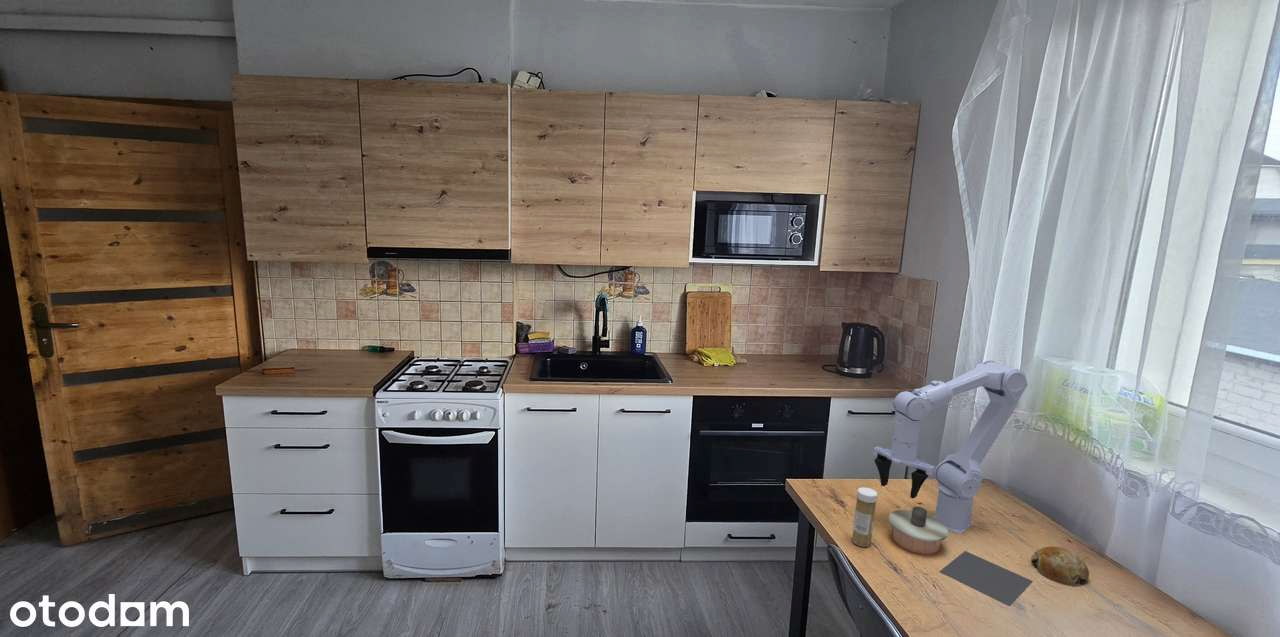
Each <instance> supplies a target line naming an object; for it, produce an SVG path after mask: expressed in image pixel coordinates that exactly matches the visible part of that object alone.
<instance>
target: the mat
mask: <svg viewBox="0 0 1280 637" xmlns="http://www.w3.org/2000/svg"><path fill="white" fill-rule="evenodd" d="M938 572H939V573H940V574H943V575H945V576H946V577H949V578H951V579H953V580H955V581H957V582H959V583H962V584H963V585H965V586H967V587H969V588H970V589H973V590H975V591H977V592H979V593H981V594H982V595H985V596H987V597H990V598H992V599H994V600H995V601H998V602H1000V603H1002V604H1004V605H1007V606H1008V607H1011V606H1012V605H1013V603H1015V601H1016V600H1017V599H1018V598H1019V597H1020V596H1021V595H1022V594H1023V593H1024V592H1025V591H1026V589H1027V588H1028V587H1029V586H1030V585H1031V584H1032V583H1033V582H1034V581H1033V580H1031V579H1030V578H1027V577H1025V576H1023V575H1020V574H1018V573H1015V572H1014V571H1011V570H1008V569H1007V568H1004V567H1002V566H1000V565H997V564H996V563H994V562H991V561H989V560H988V559H987V560H986V559H984V558H982V557H980V556H979V555H976V554H973V553H971V552H969V551H966V550H964V551H963V552H961V553H960V554H959V555H958V556H957V557H955V558H954V559H953V560H952V561H950V562H949V563H948V564H947V565H946V566H944V567H943V568H941V570H939V571H938Z"/></svg>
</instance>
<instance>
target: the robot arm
mask: <svg viewBox="0 0 1280 637" xmlns="http://www.w3.org/2000/svg"><path fill="white" fill-rule="evenodd" d="M1028 385H1029V384H1028V381H1027V377H1026V374H1025V372H1024V371H1022V370H1021V369H1018V368H1013V367H1010V366H1007V365H1005V364H1001V363H998V362H996V361H994V360H985V361H983V362H981V363H977V364H976V365H975V367H974V368H973V369H971V370H969V371H968V372H965V373H963V374H961V375H959V376H957V377H954V378H953V379H951V380H949V381H947V382H943V381H941V380H932V381H930V384H927V385H926V386H923V387H920V388H915V389H913V390H912V391H911V392H910V391H907V390H906V391H902V392H900V393H898V394H897V395H896V396H895V398H894V400H892V403H891V404H892V408H893V410H894V412H895V413H894V417H895V421H894V430H893V434H892V436H893V437H892V444H891V449H889V448H886V447H881V446H875V447H873V453H872V455H873V456H875V459H874V463H875V466H876V468H877V470H878V475H879V480H880V486H881V487H885V486H888V483H889V478H890V471H891V466H892V463H895V464H897V465H903V466H905V467H908V468H911V469H914V471H913V472H911V473H910V475H911V489H910V495H909V497H910V499H915V498H917V497H918V495H919V491H920V490H921V488H922V486H923V484H924V482H925V481H926V480H927V479H928V478H929V476H932V475H933V476H934V479H935V481H936V482H937V487H938V494H937V500H936V506H935V512H934V513H935V514H934V515H933V516H932V517H934V518H936V519H937V520H939V521H940V522H942V523H943V524H944V525H945V526H946V527H947V529H948V531H951V532H953V533H956V534H958V535H960V534H962V533H963V532H964V531H966V530H967V529H968V528H970V527H971V526H974V524H975V522H974V521H972V520H971V519H972V513H973V507H974V501H975V500H974V497H975V496H976V495H977V494H978V493H979V490H980V487H981V483H982V481H983V479H984V478H985V476H984V473H983V471H982V467H981V463H982V462H983V460H984V459H985V458H986V455H987V454H988V453H989V451H990V449H992V448H991V447H992V446H993V445H994V444H995V441H996V440H997V438H998V437H999V435H1000V434H1001V432H1002V430H1003V429H1004V427H1005V426H1006V424H1007V423H1008V421H1009V419H1010V418H1011V417H1012V414H1013V413H1014V411H1015V410H1016V409H1017V406H1018V405H1019V404H1018V403H1019V401H1020V398H1021V397H1022V395H1023V393H1024V392H1025V390H1026V389H1027V388H1028ZM981 387H983V390H984V391H985V392H986V394H987V396H988V398H989V401H988V402H989V403H988V404H987V405H986V406H985V408H984V410H983V412H982V413H981V415H980V417H979V418H978V420H977V422H976V423H975V424H974V426H973V428H972V430H971V431H970V433H969V434H968V436H967V437H966V439H965V441H964V442H963V444H962V446H961V447H960V449H959V450H958V451H957V452H955V453H951V454H948V455H947V454H946V457H945V458H944V460H942V461H941V462H940V463H939V464H937V466H936V467H935V466H934V465H931V464H929V463H927V462H926V461H923V460H921V459H919V457H917V454H918V446H919V439H920V432H921V426H922V425H921V424H922V420H924V419H925V418H926V417H927V416H928V414H929V413H930V412H932V410H934V409H938V408H939V407H942V406H944V405H947V404H949V403H951V402H952V400H953V397H954V396H957V395H959V394H962V393H965V392H969V391H971V390H973V389H977V388H981Z"/></svg>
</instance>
